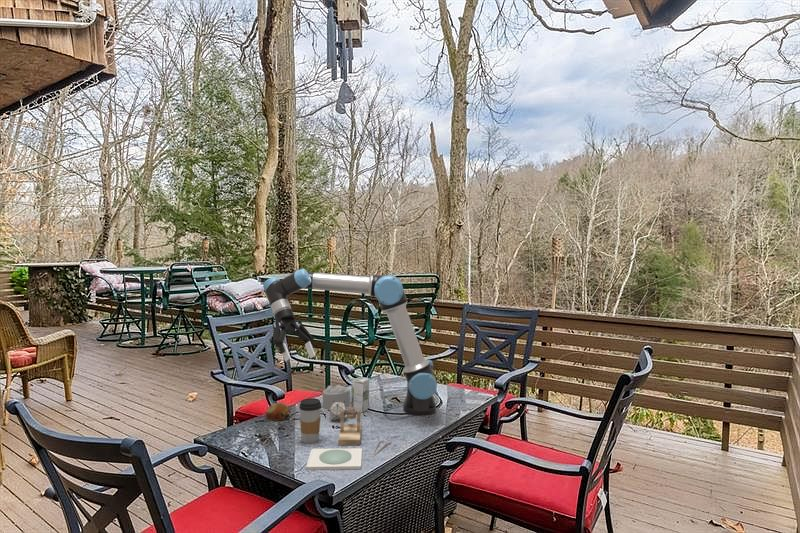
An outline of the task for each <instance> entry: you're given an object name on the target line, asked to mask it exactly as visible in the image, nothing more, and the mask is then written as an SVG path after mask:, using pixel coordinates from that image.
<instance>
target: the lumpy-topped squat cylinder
mask: <svg viewBox="0 0 800 533" xmlns="http://www.w3.org/2000/svg"><path fill="white" fill-rule="evenodd" d="M333 401H334V402H344V401H345V406H346V408H347V407H349V406H350V405H351V389H350V388H348V387H347V386H343V385H341V384H337V385H336V386H335V385H334V386H333V385H327V387H326V388H325V389H324V390H323V391H322V409H323V410H330V408H331V406H332V405H333V403H334V402H333Z"/></svg>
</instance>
